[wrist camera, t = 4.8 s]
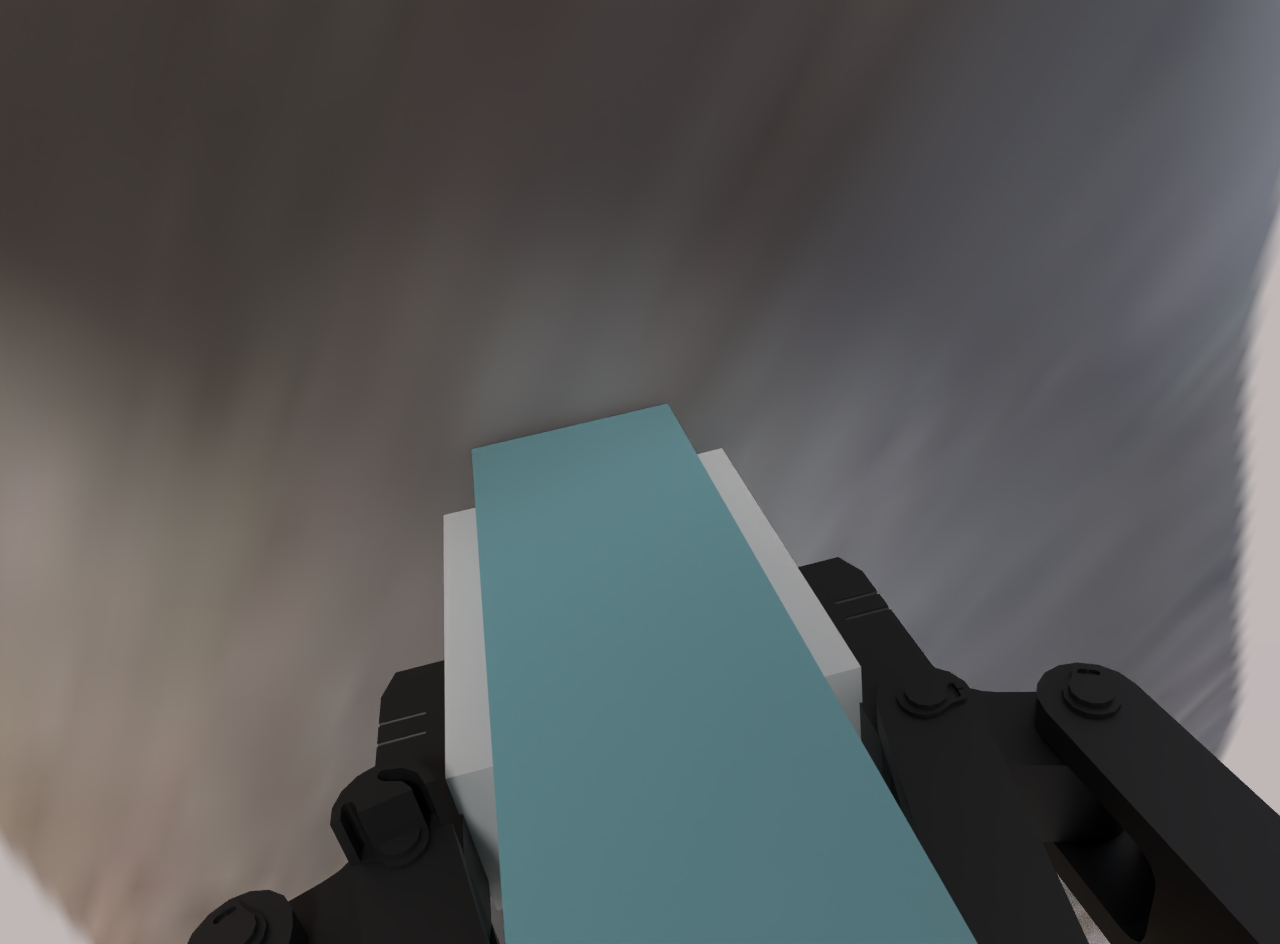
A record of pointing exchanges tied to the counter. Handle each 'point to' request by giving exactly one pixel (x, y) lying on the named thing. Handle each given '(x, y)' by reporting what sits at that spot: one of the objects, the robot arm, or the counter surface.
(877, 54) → the counter surface
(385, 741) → the robot arm
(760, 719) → the teal cube mallet
